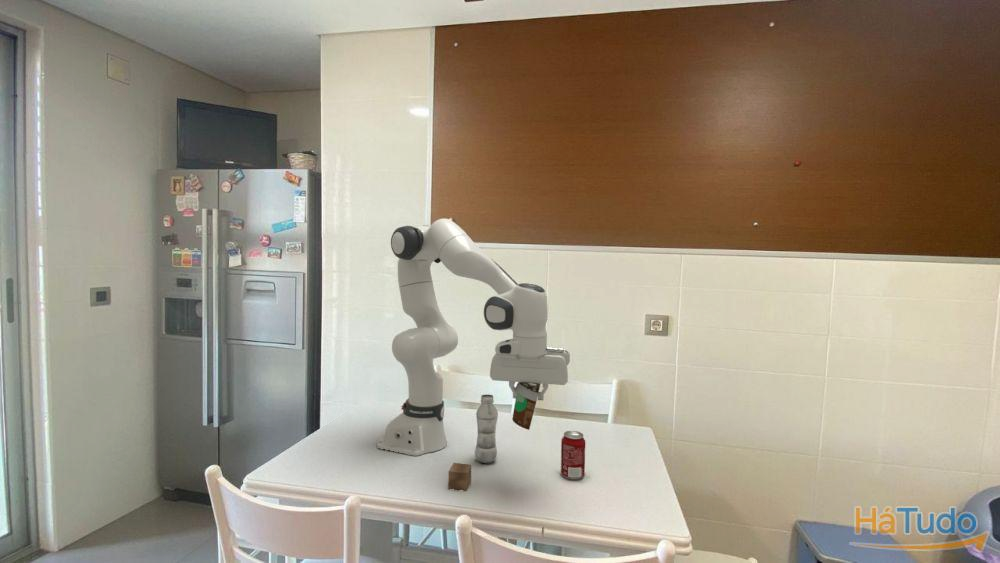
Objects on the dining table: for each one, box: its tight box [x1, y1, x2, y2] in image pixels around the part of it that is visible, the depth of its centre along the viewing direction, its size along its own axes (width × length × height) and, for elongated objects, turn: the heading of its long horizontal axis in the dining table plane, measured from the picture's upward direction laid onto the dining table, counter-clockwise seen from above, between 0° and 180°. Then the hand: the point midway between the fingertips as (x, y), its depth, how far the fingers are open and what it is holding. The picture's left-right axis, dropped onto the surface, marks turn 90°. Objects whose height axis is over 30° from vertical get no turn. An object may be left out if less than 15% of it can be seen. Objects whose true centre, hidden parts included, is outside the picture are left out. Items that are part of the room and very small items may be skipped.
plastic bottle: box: [474, 394, 499, 464], centre depth 135 cm, size 6×7×20 cm
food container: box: [511, 382, 541, 431], centre depth 117 cm, size 12×6×10 cm, turn 171°
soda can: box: [560, 430, 586, 481], centre depth 127 cm, size 7×7×12 cm
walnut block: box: [447, 462, 472, 492], centre depth 121 cm, size 5×5×5 cm
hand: (528, 398), depth 117 cm, fingers closed on food container, 5 cm apart
